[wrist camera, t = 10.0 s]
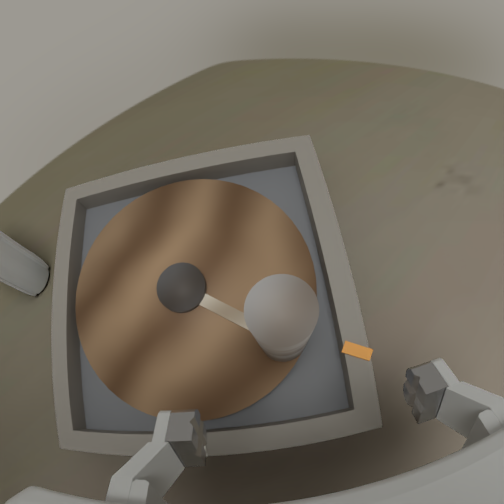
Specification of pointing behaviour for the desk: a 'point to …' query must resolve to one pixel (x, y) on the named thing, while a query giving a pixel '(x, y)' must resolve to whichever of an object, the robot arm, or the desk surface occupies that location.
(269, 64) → the desk surface
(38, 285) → the photo printer
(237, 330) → the dial
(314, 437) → the dial base
